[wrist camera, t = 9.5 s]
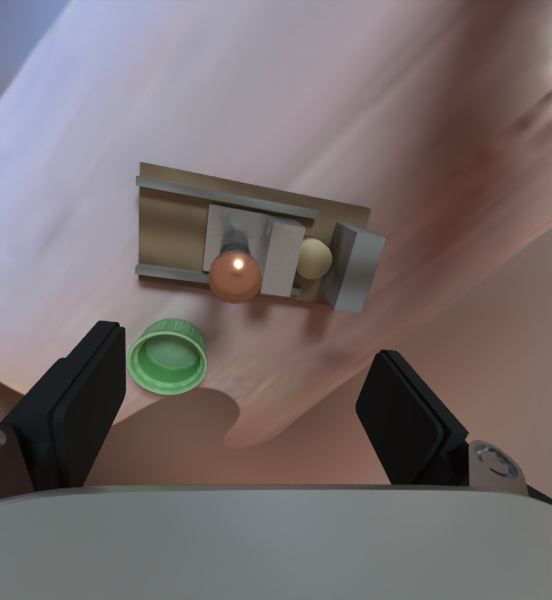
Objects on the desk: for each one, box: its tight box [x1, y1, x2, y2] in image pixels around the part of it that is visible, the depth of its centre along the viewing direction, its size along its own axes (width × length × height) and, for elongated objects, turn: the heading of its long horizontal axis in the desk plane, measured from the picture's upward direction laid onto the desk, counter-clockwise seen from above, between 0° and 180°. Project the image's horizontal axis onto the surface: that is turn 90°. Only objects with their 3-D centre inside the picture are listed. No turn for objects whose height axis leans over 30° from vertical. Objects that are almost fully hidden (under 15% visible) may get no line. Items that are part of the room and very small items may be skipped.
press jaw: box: [203, 204, 305, 303], centre depth 26 cm, size 7×9×12 cm
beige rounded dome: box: [296, 236, 332, 279], centre depth 32 cm, size 4×4×3 cm
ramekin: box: [127, 319, 207, 395], centre depth 36 cm, size 9×9×4 cm
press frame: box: [135, 162, 387, 313], centre depth 30 cm, size 12×24×8 cm, turn 79°
